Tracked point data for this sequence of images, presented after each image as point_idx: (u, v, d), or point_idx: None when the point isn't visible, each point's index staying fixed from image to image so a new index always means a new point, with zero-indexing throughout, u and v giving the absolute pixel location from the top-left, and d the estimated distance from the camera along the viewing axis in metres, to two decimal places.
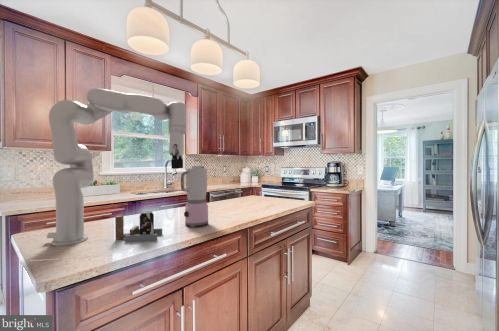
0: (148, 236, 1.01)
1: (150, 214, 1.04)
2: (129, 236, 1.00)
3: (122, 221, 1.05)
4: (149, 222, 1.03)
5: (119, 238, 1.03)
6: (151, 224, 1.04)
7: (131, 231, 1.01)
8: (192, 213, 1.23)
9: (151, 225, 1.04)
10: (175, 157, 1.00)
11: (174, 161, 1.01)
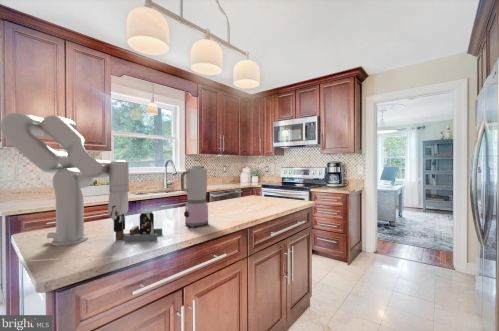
0: (148, 236, 1.01)
1: (150, 214, 1.04)
2: (129, 236, 1.00)
3: (122, 221, 1.05)
4: (149, 222, 1.03)
5: (119, 238, 1.03)
6: (151, 224, 1.04)
7: (131, 231, 1.01)
8: (192, 213, 1.23)
9: (151, 225, 1.04)
10: (117, 221, 1.01)
11: (116, 224, 1.02)
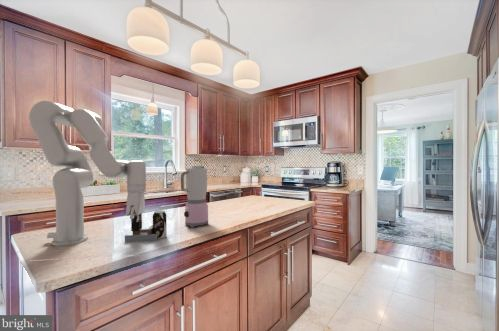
0: (148, 236, 1.01)
1: (163, 214, 1.05)
2: (129, 236, 1.00)
3: (139, 220, 1.05)
4: (162, 222, 1.04)
5: None
6: (164, 223, 1.05)
7: (148, 230, 1.02)
8: (192, 213, 1.23)
9: (164, 224, 1.05)
10: (134, 221, 1.02)
11: (133, 224, 1.02)
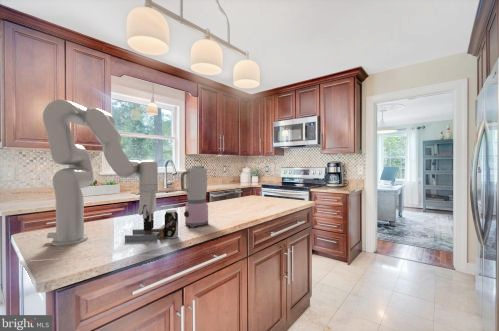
0: (148, 236, 1.01)
1: (175, 213, 1.06)
2: (129, 236, 1.00)
3: (151, 220, 1.06)
4: (174, 222, 1.05)
5: None
6: (176, 223, 1.06)
7: (161, 230, 1.03)
8: (192, 213, 1.23)
9: (176, 224, 1.06)
10: (147, 220, 1.02)
11: (146, 224, 1.03)
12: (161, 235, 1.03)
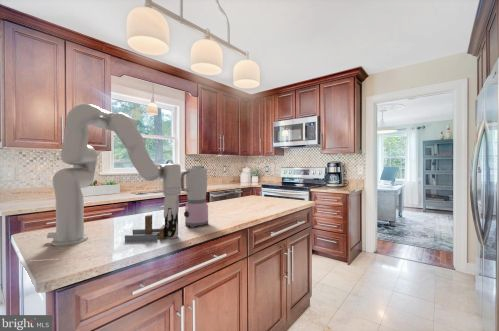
0: (148, 236, 1.01)
1: None
2: (129, 236, 1.00)
3: (151, 220, 1.06)
4: (174, 222, 1.05)
5: None
6: (176, 223, 1.06)
7: (161, 230, 1.03)
8: (192, 213, 1.23)
9: (176, 224, 1.06)
10: (171, 223, 1.03)
11: (170, 226, 1.04)
12: (161, 235, 1.03)
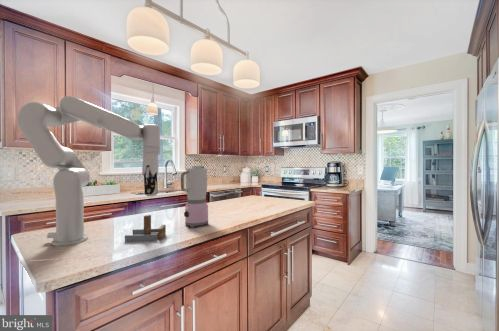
0: (148, 236, 1.01)
1: None
2: (129, 236, 1.00)
3: (150, 220, 1.06)
4: (153, 179, 1.09)
5: None
6: (155, 181, 1.10)
7: (159, 230, 1.03)
8: (192, 213, 1.23)
9: (155, 182, 1.10)
10: (149, 180, 1.08)
11: (148, 184, 1.08)
12: (160, 235, 1.03)
